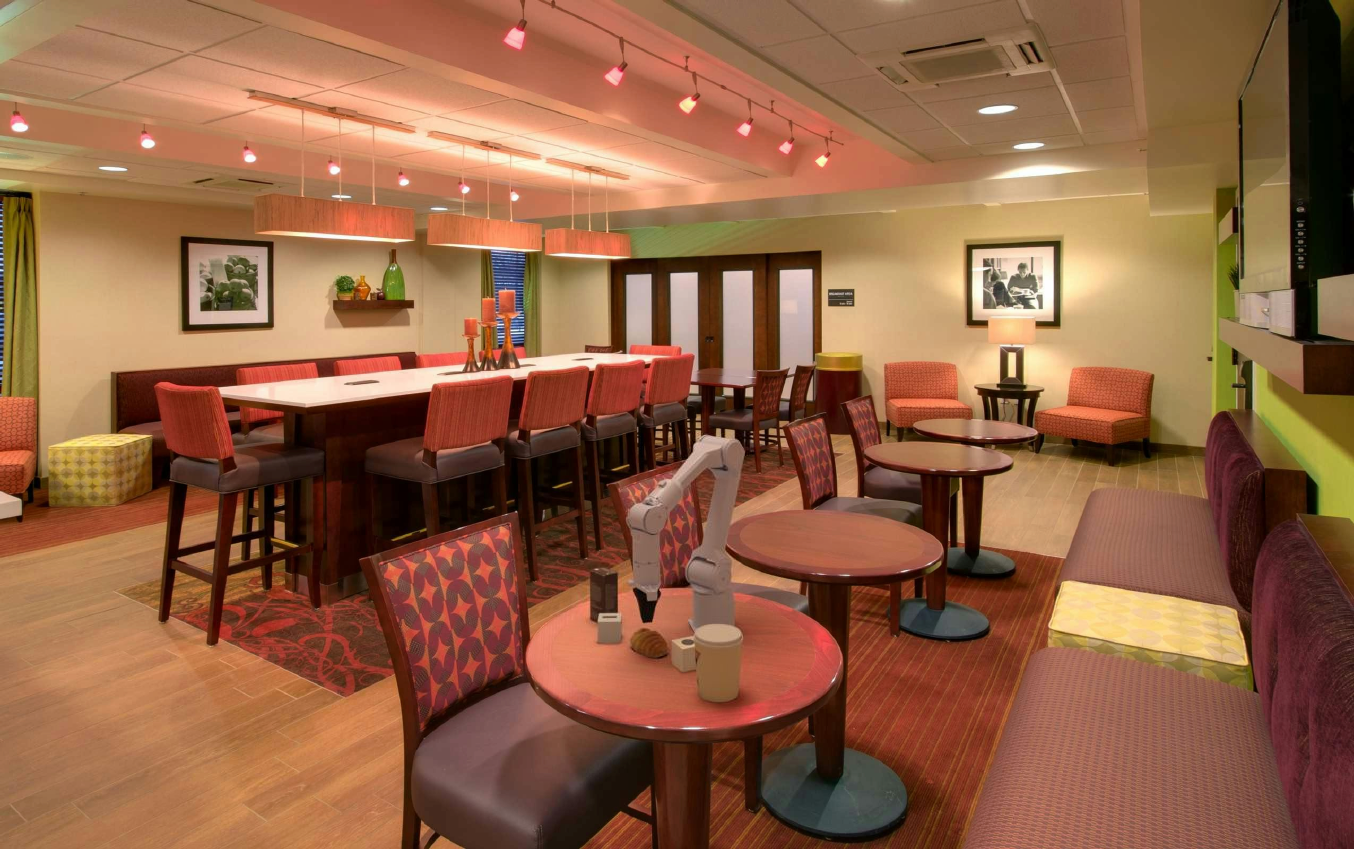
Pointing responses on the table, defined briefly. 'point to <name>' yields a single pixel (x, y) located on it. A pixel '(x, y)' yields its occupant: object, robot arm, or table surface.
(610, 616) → the marked block grey
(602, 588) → the box
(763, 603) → the table surface
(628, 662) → the table surface
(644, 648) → the pastry
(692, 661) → the marked block cream
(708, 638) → the coffee cup
